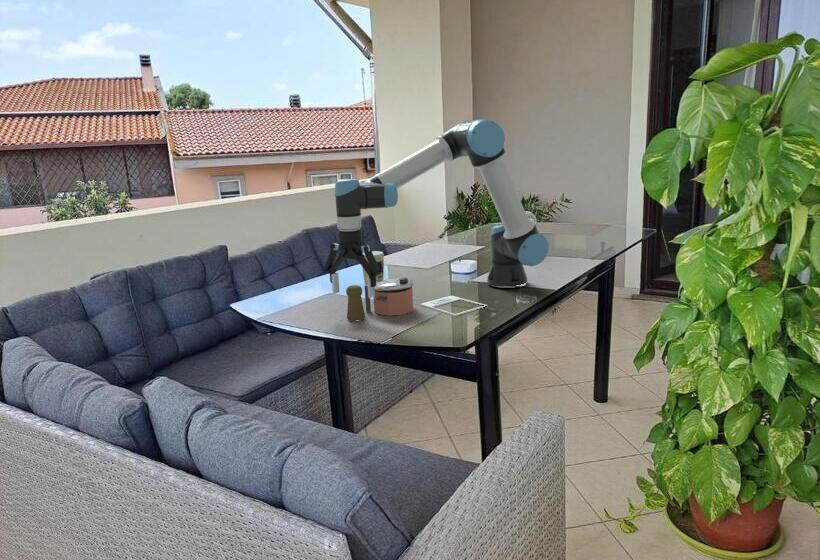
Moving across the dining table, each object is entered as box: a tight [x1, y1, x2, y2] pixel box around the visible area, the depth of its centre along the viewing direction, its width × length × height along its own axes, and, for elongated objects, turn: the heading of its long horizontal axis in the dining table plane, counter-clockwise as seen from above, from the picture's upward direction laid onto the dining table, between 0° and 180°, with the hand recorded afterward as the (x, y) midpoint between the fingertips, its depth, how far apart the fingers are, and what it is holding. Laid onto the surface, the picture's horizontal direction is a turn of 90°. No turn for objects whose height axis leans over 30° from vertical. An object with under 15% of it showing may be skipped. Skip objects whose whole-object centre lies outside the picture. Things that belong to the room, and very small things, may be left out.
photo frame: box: [419, 295, 488, 317], centre depth 195 cm, size 15×1×18 cm
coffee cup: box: [361, 250, 385, 285], centre depth 231 cm, size 9×9×12 cm
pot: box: [364, 278, 414, 317], centre depth 193 cm, size 14×16×9 cm
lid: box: [374, 277, 414, 291], centre depth 191 cm, size 14×14×2 cm
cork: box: [345, 284, 366, 322], centre depth 185 cm, size 6×6×11 cm
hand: (353, 294), depth 184 cm, fingers open, 13 cm apart
